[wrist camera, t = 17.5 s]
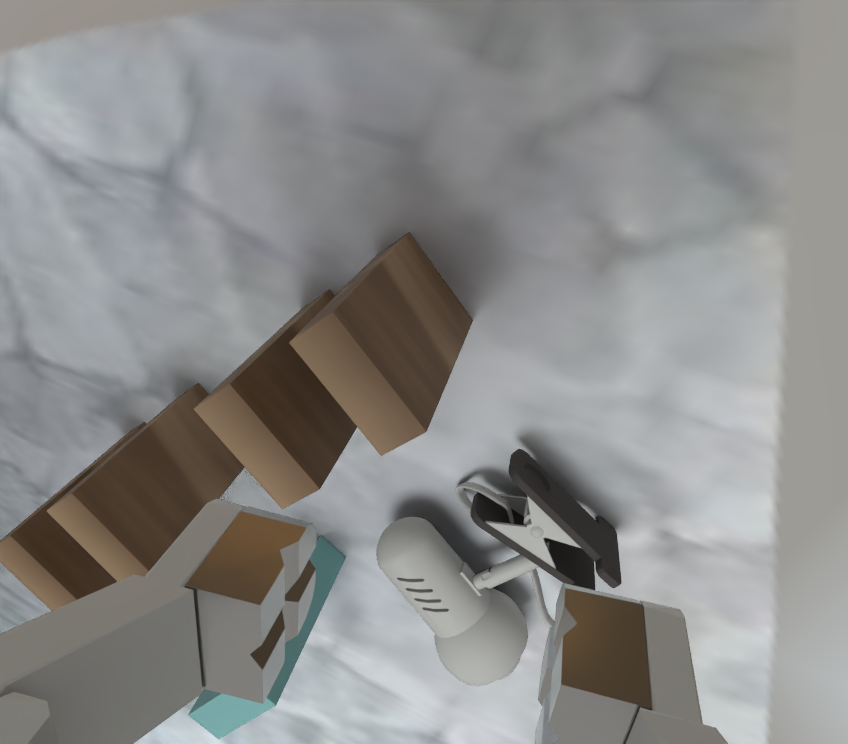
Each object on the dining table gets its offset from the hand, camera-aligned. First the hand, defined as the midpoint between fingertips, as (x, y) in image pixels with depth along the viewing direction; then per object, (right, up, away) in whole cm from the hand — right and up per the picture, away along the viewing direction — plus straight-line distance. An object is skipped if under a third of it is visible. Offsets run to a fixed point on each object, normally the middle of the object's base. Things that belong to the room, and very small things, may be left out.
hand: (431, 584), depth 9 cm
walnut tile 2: (-4, +5, +23) cm, 24 cm away
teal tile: (-7, -9, +31) cm, 33 cm away
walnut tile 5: (-16, -2, +30) cm, 34 cm away
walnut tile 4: (-12, 0, +28) cm, 30 cm away
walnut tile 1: (0, +7, +21) cm, 22 cm away
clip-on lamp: (+11, -18, +27) cm, 34 cm away
